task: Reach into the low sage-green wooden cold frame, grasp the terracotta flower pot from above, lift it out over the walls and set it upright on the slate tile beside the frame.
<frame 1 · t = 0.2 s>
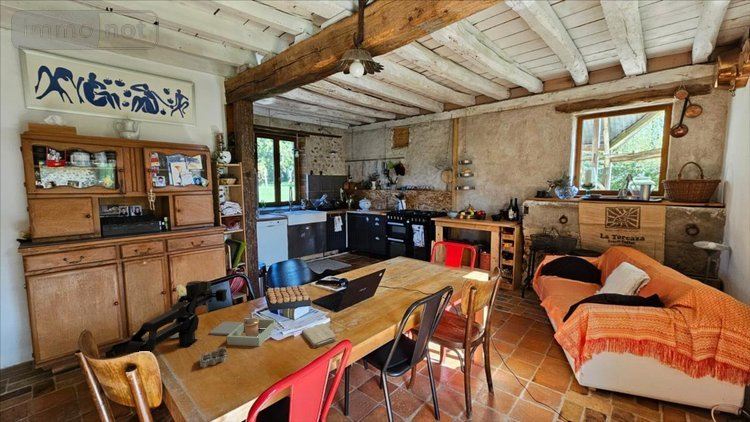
hand: (219, 290, 173), 17 cm above the table, tool horizontal, fingers open, 9 cm apart
egg carton: (213, 362, 135), on the table
slate tile: (227, 329, 163), on the table
washcloth: (319, 338, 154), on the table
terracotta pot: (252, 336, 155), resting in cold frame
cold frame: (252, 336, 155), on the table
flower in vase: (179, 334, 160), on the table
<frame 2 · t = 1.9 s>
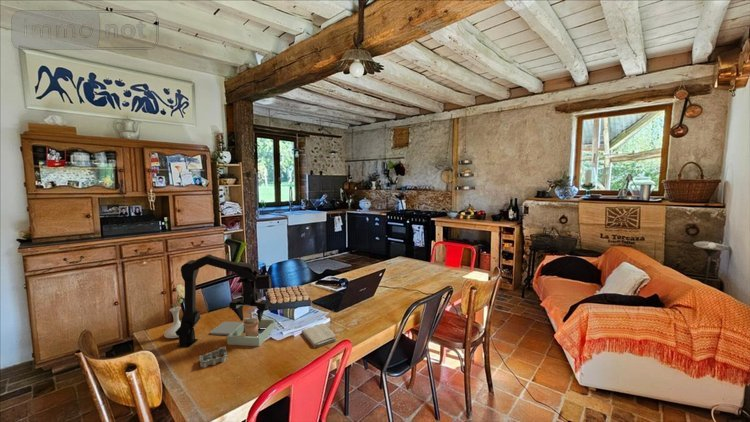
hand: (250, 321, 154), 8 cm above the table, tool pointing down, fingers open, 9 cm apart
nothing on the table moved.
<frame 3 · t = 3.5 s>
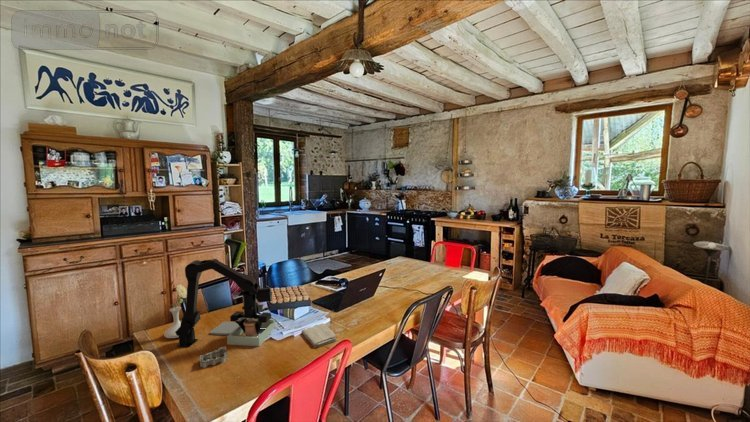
hand: (252, 333, 155), 2 cm above the table, tool pointing down, fingers closed on terracotta pot, 6 cm apart
terracotta pot: (252, 336, 155), resting in cold frame, touching gripper
everything else where it was.
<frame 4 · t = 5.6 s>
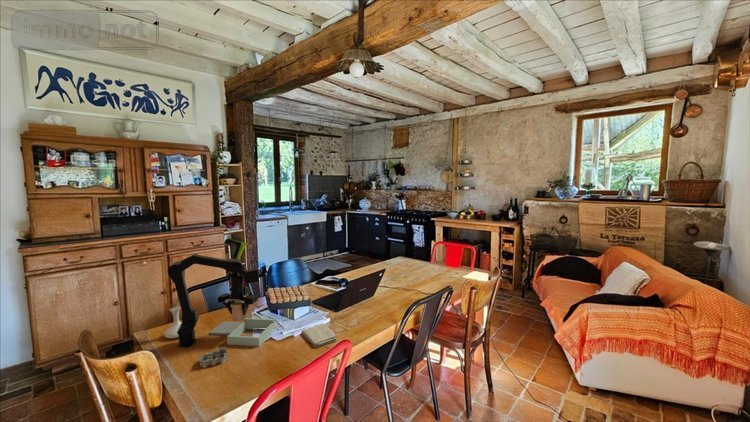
hand: (238, 315, 158), 10 cm above the table, tool pointing down, fingers closed on terracotta pot, 6 cm apart
terracotta pot: (238, 318, 158), point 8 cm above the table, touching gripper
everything else where it was.
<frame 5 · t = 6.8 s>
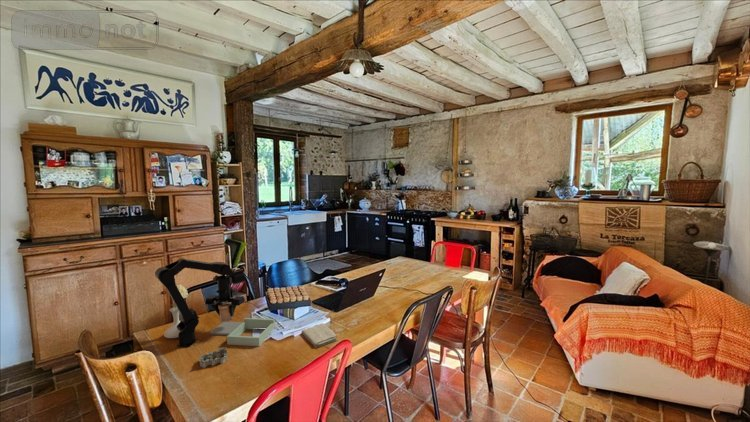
hand: (226, 316, 162), 7 cm above the table, tool pointing down, fingers closed on terracotta pot, 6 cm apart
terracotta pot: (226, 319, 163), point 5 cm above the table, touching gripper
everything else where it was.
when the fingers open (4 cm above the table, at t = 7.7 s): terracotta pot drops 2 cm, resting on slate tile.
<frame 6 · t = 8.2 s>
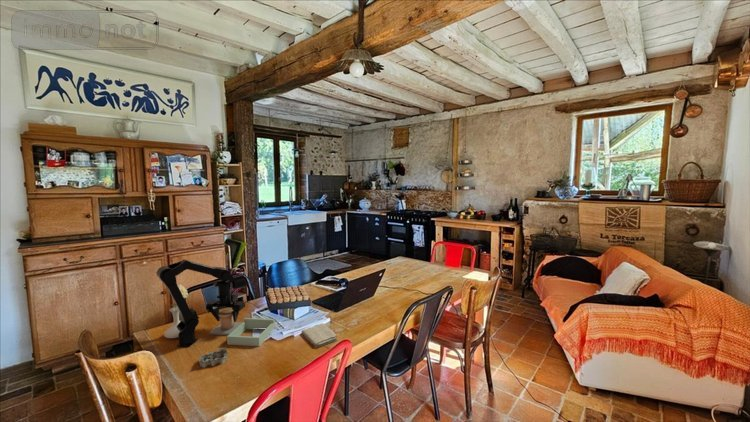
hand: (226, 321, 163), 4 cm above the table, tool pointing down, fingers open, 9 cm apart
terracotta pot: (227, 327, 163), point 1 cm above the table, touching slate tile
everything else where it was.
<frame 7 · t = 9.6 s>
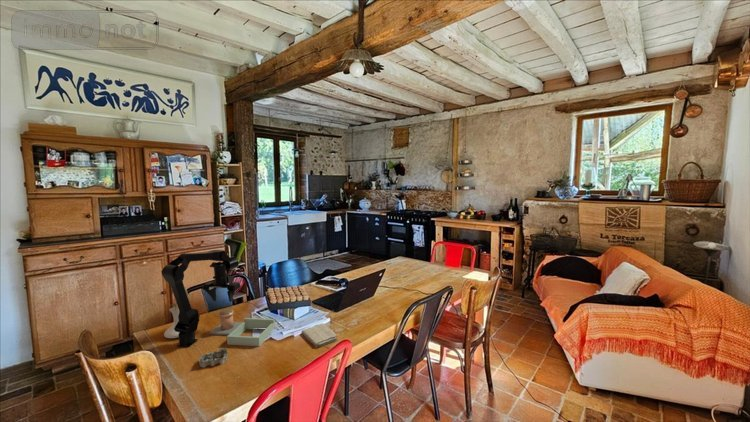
hand: (223, 301, 169), 12 cm above the table, tool pointing down, fingers open, 9 cm apart
nothing on the table moved.
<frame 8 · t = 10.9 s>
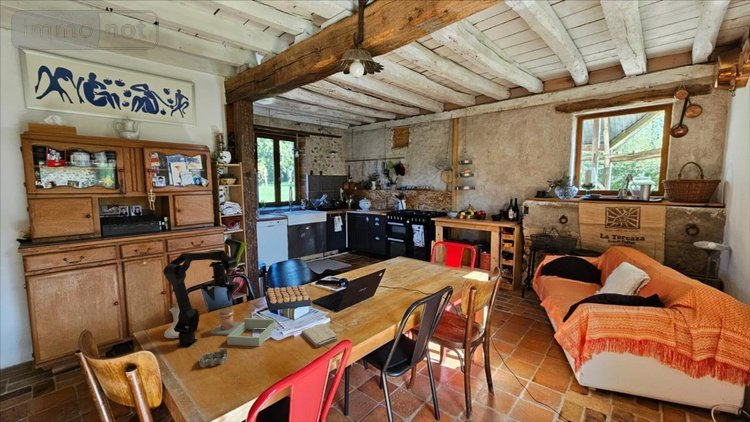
hand: (221, 301, 170), 12 cm above the table, tool pointing down, fingers open, 9 cm apart
nothing on the table moved.
at the end: terracotta pot inside the target area on the slate tile (0.0 cm from its centre), point 1.0 cm above the slate tile's base; terracotta pot tilted 0°; the gripper is holding nothing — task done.
